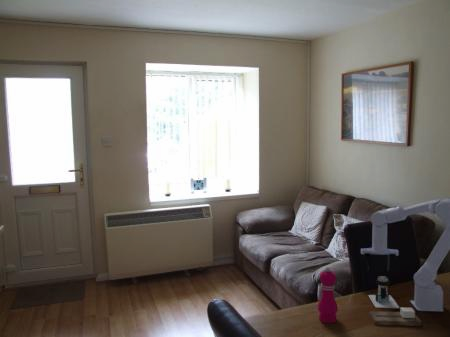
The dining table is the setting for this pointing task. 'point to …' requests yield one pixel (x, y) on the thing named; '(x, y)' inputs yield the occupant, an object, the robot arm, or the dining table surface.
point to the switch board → (392, 319)
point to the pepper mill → (327, 297)
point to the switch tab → (407, 312)
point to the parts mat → (383, 305)
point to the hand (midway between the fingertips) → (379, 271)
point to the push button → (382, 289)
